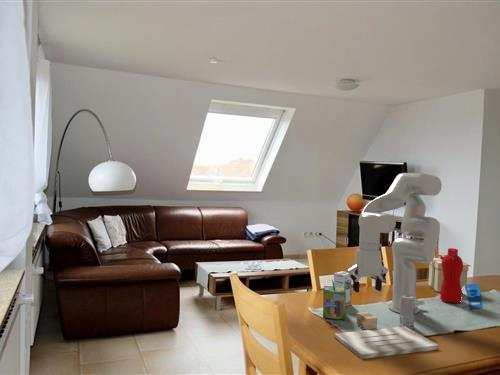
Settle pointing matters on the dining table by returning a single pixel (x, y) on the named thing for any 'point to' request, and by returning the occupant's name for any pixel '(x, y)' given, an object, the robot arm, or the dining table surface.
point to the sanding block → (367, 321)
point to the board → (385, 342)
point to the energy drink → (407, 311)
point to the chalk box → (334, 302)
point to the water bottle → (451, 277)
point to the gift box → (437, 274)
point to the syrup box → (344, 284)
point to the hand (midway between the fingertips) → (367, 290)
